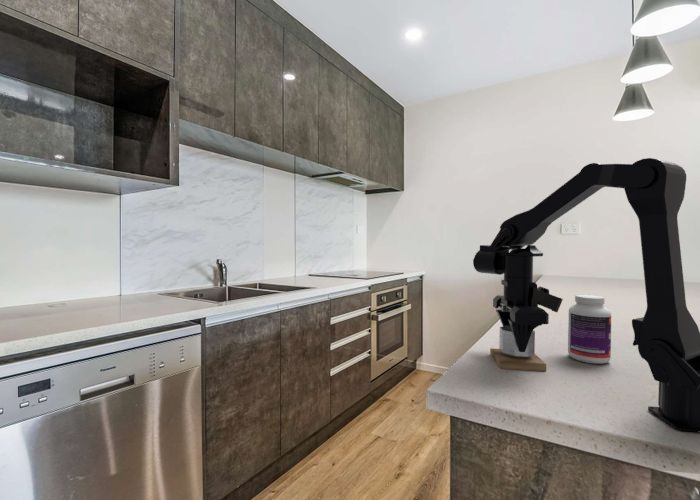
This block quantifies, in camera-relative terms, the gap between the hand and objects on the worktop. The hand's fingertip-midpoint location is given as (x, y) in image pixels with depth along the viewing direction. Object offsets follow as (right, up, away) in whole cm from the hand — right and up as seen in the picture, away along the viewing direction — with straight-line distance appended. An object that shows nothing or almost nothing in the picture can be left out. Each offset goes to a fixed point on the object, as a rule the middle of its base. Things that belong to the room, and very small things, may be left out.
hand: (516, 347), depth 78 cm
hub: (0, -1, 0) cm, 1 cm away
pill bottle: (+18, -4, +3) cm, 18 cm away
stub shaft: (0, -3, 0) cm, 3 cm away
